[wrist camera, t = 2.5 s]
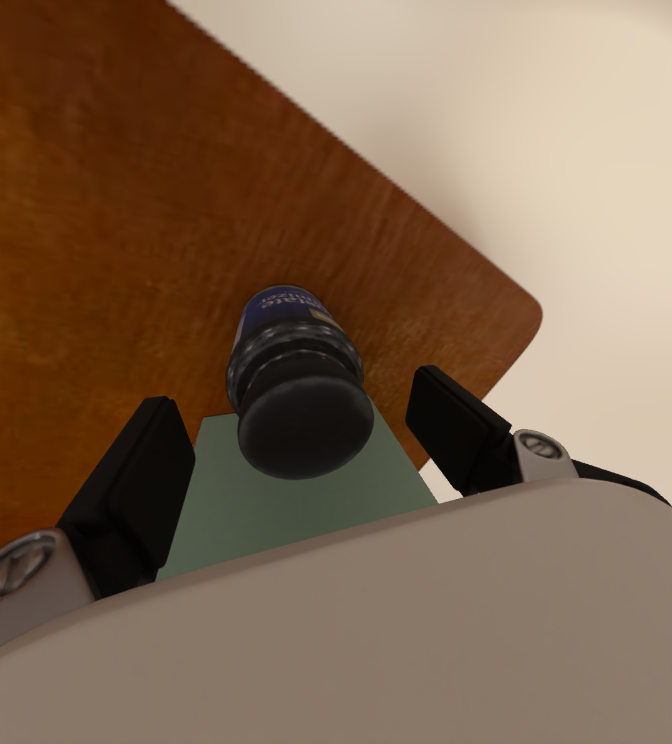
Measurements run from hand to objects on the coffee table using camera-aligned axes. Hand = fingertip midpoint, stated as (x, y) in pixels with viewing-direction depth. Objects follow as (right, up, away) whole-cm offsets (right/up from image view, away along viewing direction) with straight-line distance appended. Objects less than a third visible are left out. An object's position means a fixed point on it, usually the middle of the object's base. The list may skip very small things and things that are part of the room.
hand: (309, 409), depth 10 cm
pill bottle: (-3, +5, +8) cm, 10 cm away
